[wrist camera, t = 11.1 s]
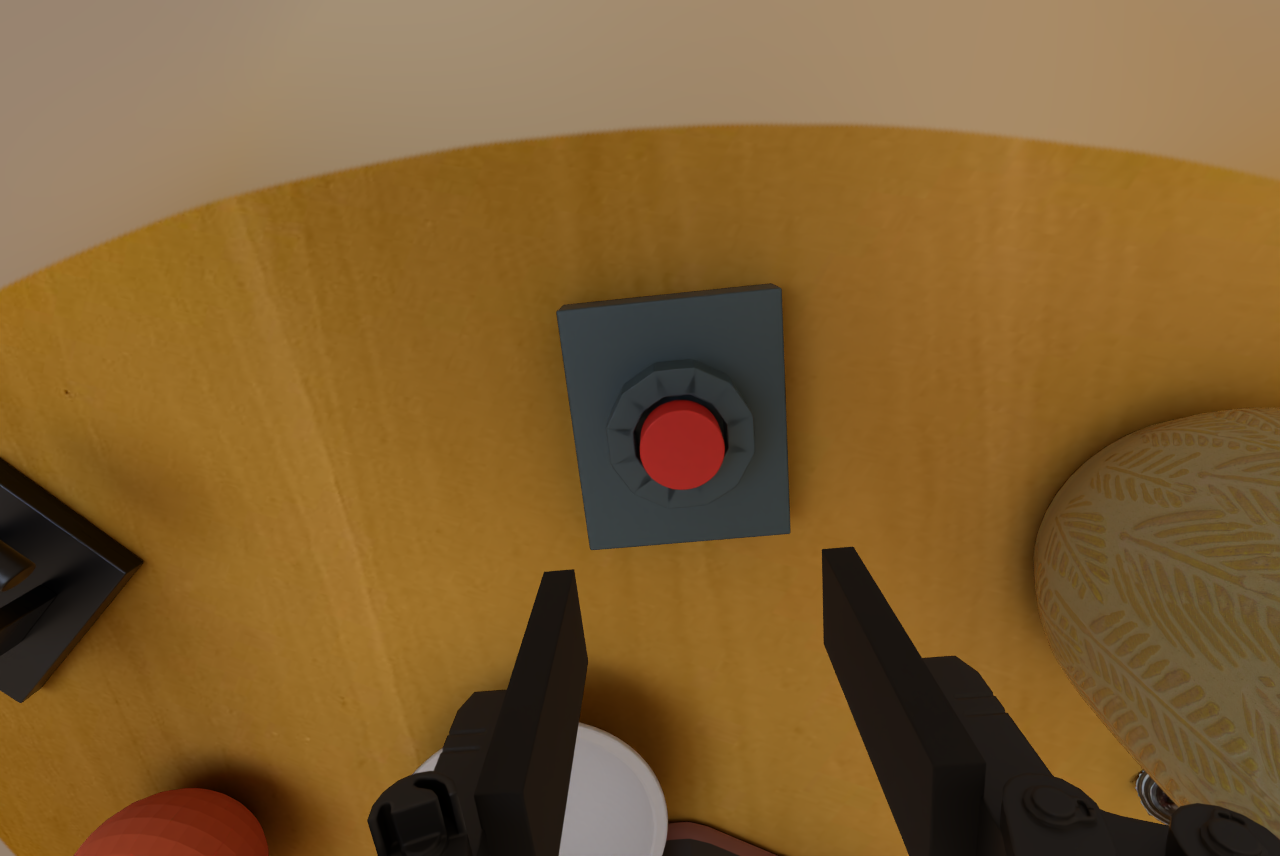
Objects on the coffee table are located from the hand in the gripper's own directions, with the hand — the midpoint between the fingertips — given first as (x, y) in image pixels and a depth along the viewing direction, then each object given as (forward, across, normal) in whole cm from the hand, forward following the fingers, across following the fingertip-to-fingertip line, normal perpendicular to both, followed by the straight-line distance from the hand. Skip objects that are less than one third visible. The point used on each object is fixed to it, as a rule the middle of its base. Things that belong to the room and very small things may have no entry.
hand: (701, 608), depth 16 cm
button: (+13, 0, 0) cm, 13 cm away
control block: (+17, 0, 0) cm, 17 cm away
